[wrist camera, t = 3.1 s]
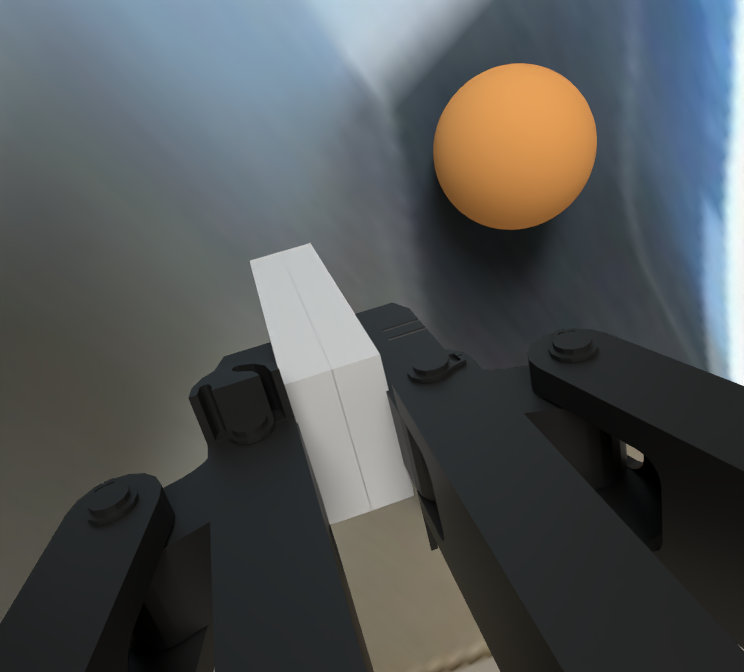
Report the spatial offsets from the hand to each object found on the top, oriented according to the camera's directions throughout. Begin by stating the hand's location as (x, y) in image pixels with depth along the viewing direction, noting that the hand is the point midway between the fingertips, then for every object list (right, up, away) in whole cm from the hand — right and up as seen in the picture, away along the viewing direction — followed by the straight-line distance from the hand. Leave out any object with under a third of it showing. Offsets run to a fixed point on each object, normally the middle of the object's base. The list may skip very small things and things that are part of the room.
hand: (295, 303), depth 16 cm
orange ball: (+7, +6, +9) cm, 13 cm away
